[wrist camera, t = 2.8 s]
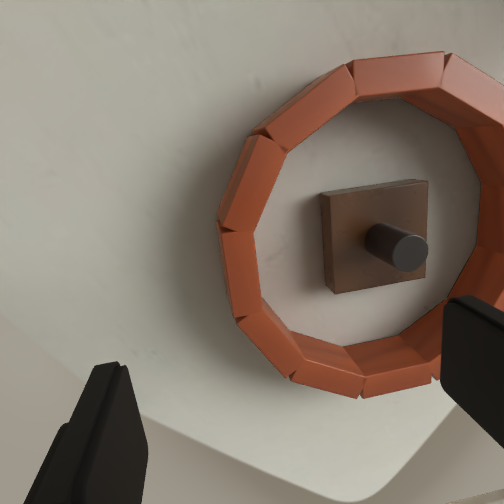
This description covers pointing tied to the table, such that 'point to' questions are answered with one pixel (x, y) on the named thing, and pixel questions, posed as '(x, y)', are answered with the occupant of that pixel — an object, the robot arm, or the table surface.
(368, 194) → the post
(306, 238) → the table surface
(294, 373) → the hoop
